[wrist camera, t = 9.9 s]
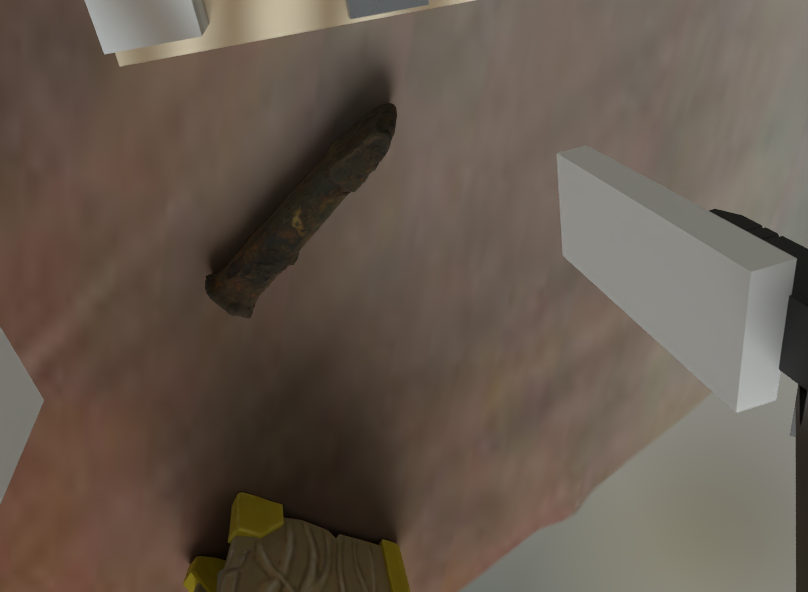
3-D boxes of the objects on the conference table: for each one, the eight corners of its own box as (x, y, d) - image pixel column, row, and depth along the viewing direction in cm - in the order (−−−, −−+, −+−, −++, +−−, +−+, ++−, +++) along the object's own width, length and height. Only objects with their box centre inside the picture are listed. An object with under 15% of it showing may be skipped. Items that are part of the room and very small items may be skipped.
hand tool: (245, 303, 51) (245, 333, 47) (203, 274, 49) (200, 303, 45) (415, 128, 47) (430, 145, 43) (377, 88, 45) (389, 103, 41)
